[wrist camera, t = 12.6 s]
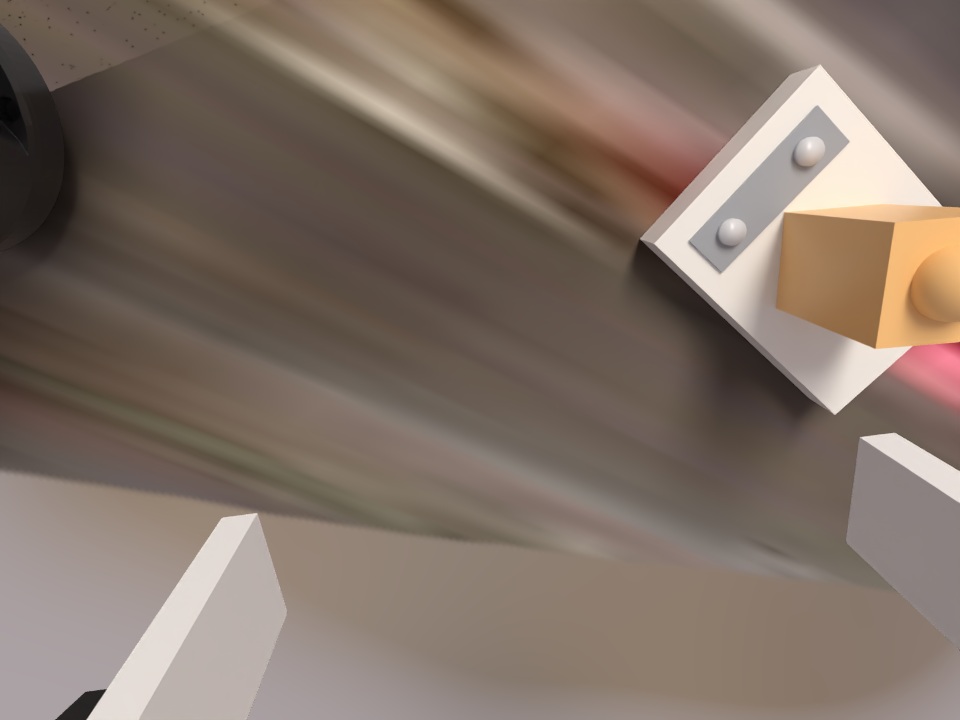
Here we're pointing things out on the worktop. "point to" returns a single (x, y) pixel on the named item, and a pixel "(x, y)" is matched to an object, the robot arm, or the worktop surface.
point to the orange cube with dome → (874, 272)
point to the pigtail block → (759, 226)
